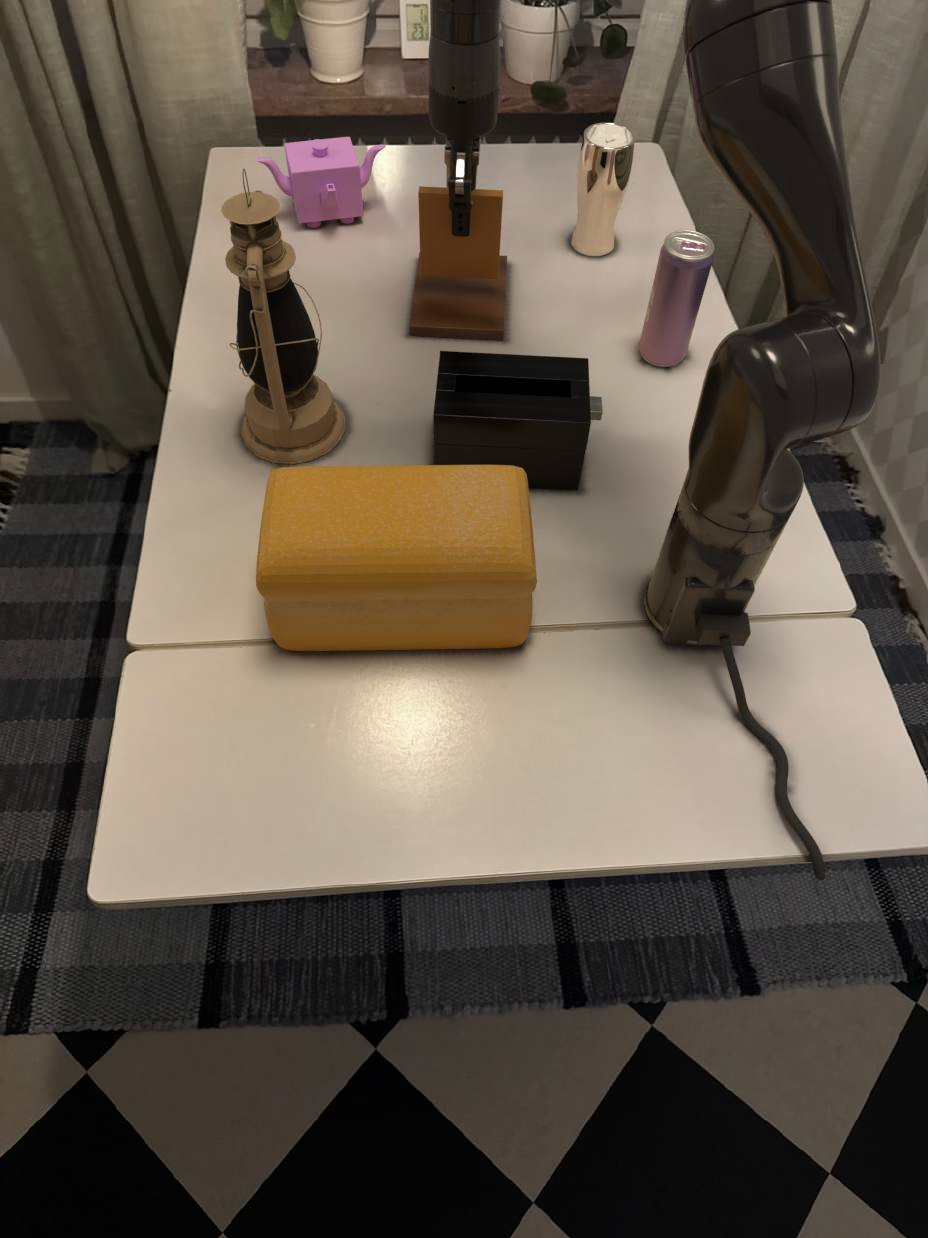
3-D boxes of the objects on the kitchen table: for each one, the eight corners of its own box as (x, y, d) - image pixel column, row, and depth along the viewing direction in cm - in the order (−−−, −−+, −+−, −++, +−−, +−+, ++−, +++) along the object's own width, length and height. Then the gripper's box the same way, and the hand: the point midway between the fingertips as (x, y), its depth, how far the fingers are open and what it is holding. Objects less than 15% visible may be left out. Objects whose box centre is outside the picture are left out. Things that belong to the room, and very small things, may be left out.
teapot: (271, 248, 118) (258, 179, 110) (261, 197, 126) (248, 128, 117) (398, 233, 121) (395, 164, 113) (381, 183, 128) (377, 115, 120)
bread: (519, 546, 90) (531, 442, 77) (528, 650, 83) (543, 554, 70) (286, 549, 89) (260, 444, 77) (274, 654, 82) (244, 558, 69)
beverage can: (683, 372, 106) (715, 263, 93) (635, 365, 106) (660, 255, 94) (686, 341, 109) (717, 232, 97) (639, 335, 110) (664, 225, 97)
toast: (498, 279, 110) (502, 196, 100) (420, 275, 110) (418, 192, 101) (498, 272, 110) (503, 189, 101) (421, 268, 110) (419, 185, 101)
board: (503, 340, 109) (504, 330, 107) (409, 335, 109) (408, 325, 107) (506, 265, 117) (507, 255, 116) (419, 260, 118) (419, 250, 116)
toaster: (592, 491, 94) (606, 423, 86) (434, 482, 95) (433, 414, 86) (590, 427, 100) (603, 358, 92) (440, 419, 100) (440, 350, 92)
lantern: (245, 386, 103) (181, 128, 78) (344, 381, 104) (312, 125, 79) (238, 474, 95) (164, 219, 70) (345, 469, 96) (310, 214, 71)
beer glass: (559, 249, 120) (573, 140, 107) (579, 224, 123) (595, 116, 111) (605, 264, 118) (625, 154, 106) (624, 238, 121) (645, 129, 109)
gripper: (433, 46, 94) (434, 197, 109) (423, 107, 87) (426, 261, 101) (501, 49, 94) (493, 200, 109) (497, 111, 87) (489, 264, 101)
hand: (461, 229), depth 105 cm, fingers closed on toast, 1 cm apart
